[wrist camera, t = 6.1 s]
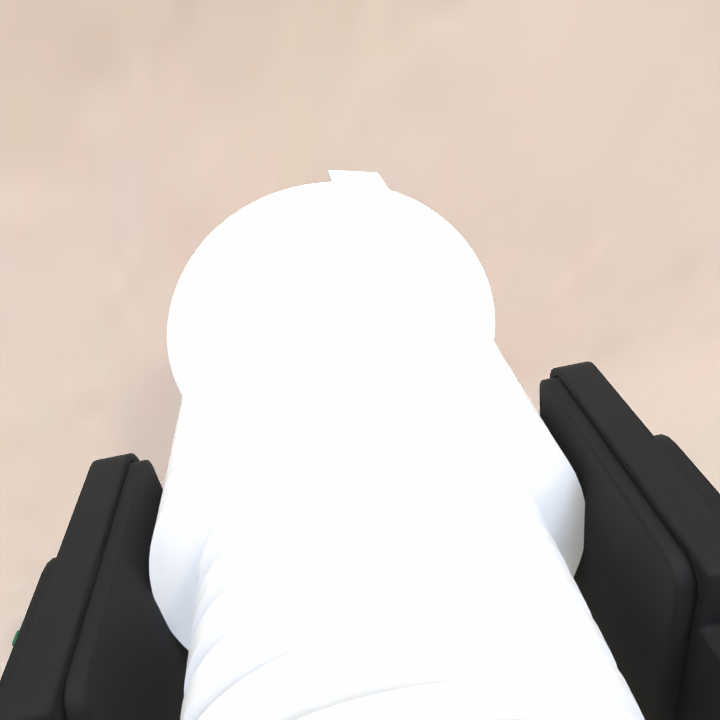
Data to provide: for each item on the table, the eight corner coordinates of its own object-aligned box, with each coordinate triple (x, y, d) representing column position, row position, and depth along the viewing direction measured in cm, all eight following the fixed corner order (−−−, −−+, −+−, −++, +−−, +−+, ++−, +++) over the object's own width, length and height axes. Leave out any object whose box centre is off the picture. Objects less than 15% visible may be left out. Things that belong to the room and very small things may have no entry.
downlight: (459, 475, 17) (656, 991, 8) (181, 479, 16) (74, 1073, 7) (521, 161, 13) (1030, 529, 4) (155, 142, 12) (-151, 568, 3)
